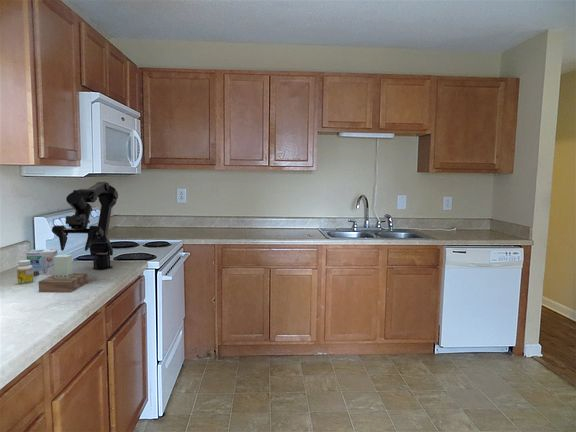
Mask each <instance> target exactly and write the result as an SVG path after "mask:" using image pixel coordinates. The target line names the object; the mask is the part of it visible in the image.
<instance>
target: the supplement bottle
mask: <svg viewBox="0 0 576 432" xmlns="http://www.w3.org/2000/svg"><path fill="white" fill-rule="evenodd" d="M16 273H17V274H16V276H17V285H30V284H32V283H34V276H33V267H32V265H30V260H27V259H21V260H19V261H18V266H17V267H16Z"/></svg>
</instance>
